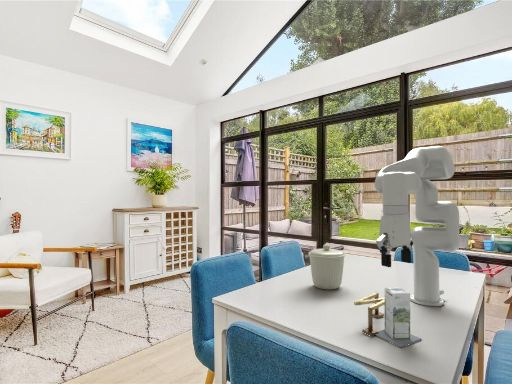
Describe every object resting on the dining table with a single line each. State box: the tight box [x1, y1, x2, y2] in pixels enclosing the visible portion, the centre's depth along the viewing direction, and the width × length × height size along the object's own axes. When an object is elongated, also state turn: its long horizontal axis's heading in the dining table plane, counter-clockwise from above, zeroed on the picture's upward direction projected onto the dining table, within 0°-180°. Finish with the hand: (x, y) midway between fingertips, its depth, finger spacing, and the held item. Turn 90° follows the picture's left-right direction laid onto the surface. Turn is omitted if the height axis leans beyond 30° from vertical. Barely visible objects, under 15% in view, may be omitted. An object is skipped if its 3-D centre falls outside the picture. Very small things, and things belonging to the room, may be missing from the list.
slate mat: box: [375, 328, 422, 348], centre depth 97 cm, size 10×10×1 cm
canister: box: [307, 243, 347, 291], centre depth 152 cm, size 18×18×21 cm
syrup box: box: [384, 287, 411, 339], centre depth 98 cm, size 6×6×14 cm
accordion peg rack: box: [353, 291, 385, 337], centre depth 108 cm, size 18×13×8 cm
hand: (396, 264), depth 98 cm, fingers open, 9 cm apart
